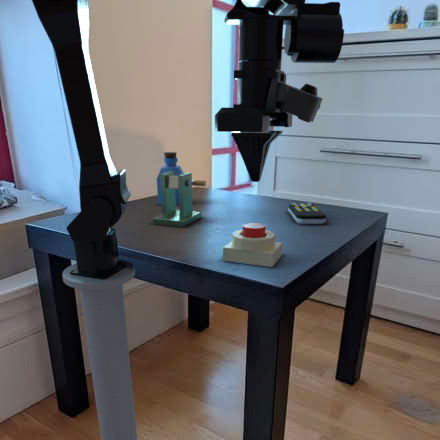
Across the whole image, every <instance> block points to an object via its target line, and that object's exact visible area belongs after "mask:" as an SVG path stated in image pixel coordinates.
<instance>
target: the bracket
mask: <svg viewBox="0 0 440 440" xmlns="http://www.w3.org/2000/svg"><path fill="white" fill-rule="evenodd" d="M183 173H184V172H183ZM169 176H174V172H172V171H170V172H166V173H163V174H160V179H161V198H162V204H161V214H160V215H157V216H155V217H153V218H152V224H153V225H160V226H167V227H168V226H169V227H178V228H185V227H186V226H187V227H188V226H189V225H190V224H192V223H194V222H196V221H197V220H199V219H201V218H202V212H201V211H195V210H193V186H192V180H193V173H192V172H188V171H187V172H185V173H184V174H181V175H178V187H179V204H178V209H177V207H176V206H177V204H176V203H175V188H169Z"/></svg>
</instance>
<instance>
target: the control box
mask: <svg viewBox="0 0 440 440" xmlns="http://www.w3.org/2000/svg"><path fill="white" fill-rule="evenodd" d="M282 252H283V242H279V241H276V234H275V233H274V232H273V231H272V230H268V229H265V237H261V238H249V237H244V236H242V229H237V230H235V231H234V232H232V234H231V241H229V242H228V243H227V244H226V245H224V246H223V247H222V261H223V262H229V263H237V264H245V265H251V266H260V267H266V268H273V267H274V266H275V265H276V264H277V262H278V261H279V260H280V258H281V257H282V254H283V253H282Z"/></svg>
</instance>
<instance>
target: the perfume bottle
mask: <svg viewBox="0 0 440 440" xmlns="http://www.w3.org/2000/svg"><path fill="white" fill-rule="evenodd" d="M177 154H178V153H177V152H176V151H166V152H163V155H164V157H163V163H164V165H163V166H162V167H161V168H160V170H159V173H158V174H157V177H156V188H157V189H156V190H157V191H156V193H157V205H162V198H161V179H160V174H163V173H166V172H170V171H172V172H174V176H178V175H181V174H184V171H183V169H182V167H181V165H178V164H177V163H178V162H179V161H178V157H177ZM175 203H176V205H179V189H175Z"/></svg>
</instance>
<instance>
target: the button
mask: <svg viewBox="0 0 440 440" xmlns="http://www.w3.org/2000/svg"><path fill="white" fill-rule="evenodd" d="M241 227H242V229H241V230H242V236H244V237H249V238H261V237H265V230H267V229H266V227H267V225H266V224H263V223H260V222H247V223H243V224H242V226H241Z"/></svg>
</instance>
